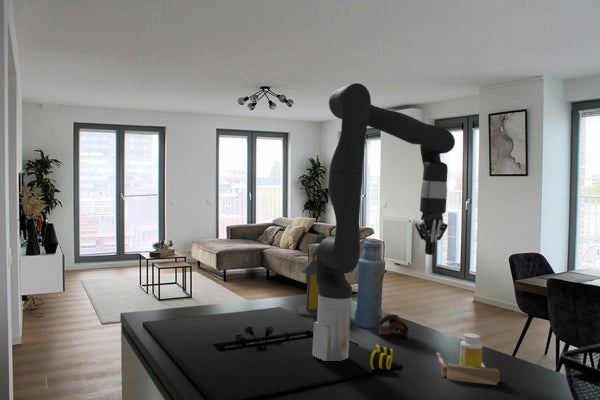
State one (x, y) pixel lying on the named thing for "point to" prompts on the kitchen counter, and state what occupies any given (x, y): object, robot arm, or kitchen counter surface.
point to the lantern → (311, 286)
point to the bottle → (370, 286)
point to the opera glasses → (381, 357)
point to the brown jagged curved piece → (393, 325)
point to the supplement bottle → (471, 350)
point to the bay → (469, 373)
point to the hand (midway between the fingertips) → (429, 254)
